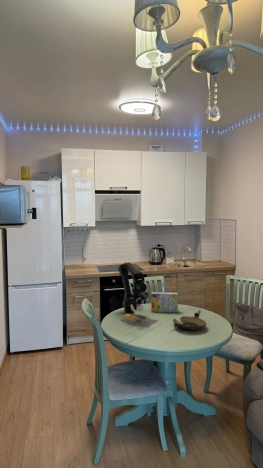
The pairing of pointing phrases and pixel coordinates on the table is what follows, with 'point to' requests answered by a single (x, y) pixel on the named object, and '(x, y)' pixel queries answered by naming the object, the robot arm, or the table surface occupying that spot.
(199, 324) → the oil lamp
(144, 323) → the organiser
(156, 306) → the snack box
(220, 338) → the table surface
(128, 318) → the amber plug
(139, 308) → the grey plug
